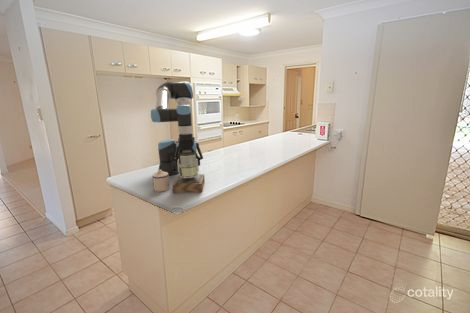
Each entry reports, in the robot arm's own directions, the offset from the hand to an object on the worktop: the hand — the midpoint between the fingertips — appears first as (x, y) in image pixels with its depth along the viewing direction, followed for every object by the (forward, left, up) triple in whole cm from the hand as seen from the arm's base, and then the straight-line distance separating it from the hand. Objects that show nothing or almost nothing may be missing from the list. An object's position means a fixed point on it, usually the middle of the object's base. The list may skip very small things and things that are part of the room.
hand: (188, 171), depth 133 cm
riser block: (0, 0, -10) cm, 10 cm away
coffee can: (0, 0, -3) cm, 3 cm away
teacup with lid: (-17, 0, -10) cm, 20 cm away
